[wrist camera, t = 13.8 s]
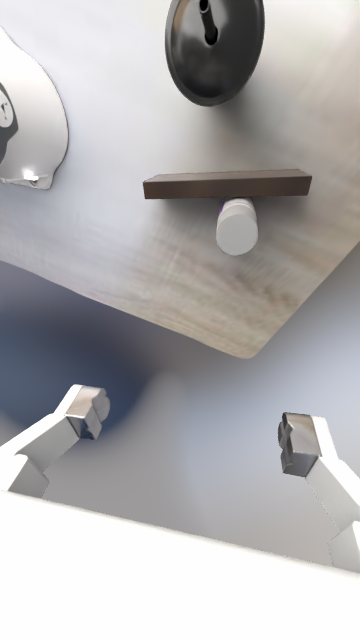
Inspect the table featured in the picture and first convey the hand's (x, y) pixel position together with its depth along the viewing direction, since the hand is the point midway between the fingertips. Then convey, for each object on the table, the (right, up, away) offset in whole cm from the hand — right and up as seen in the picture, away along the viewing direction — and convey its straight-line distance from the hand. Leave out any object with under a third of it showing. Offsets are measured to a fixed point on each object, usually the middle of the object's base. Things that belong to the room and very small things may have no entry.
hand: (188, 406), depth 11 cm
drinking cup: (+5, +34, +18) cm, 39 cm away
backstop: (+6, +25, +25) cm, 35 cm away
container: (+8, +22, +26) cm, 35 cm away
